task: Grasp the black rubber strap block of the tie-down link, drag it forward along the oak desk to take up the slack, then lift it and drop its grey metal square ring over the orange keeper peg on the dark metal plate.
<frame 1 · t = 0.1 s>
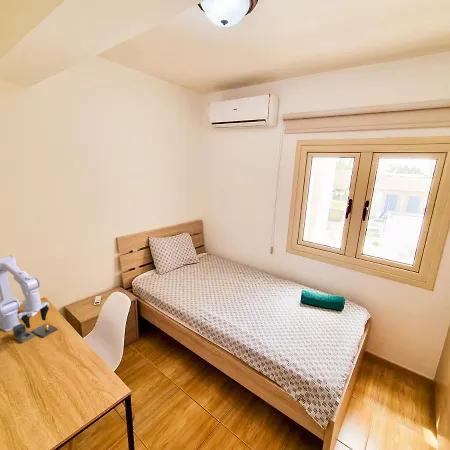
hand: (36, 323, 134), 10 cm above the table, fingers open, 7 cm apart
link: (20, 335, 139), on the table
keeper: (44, 331, 143), on the table
ink cartridge box: (33, 313, 161), on the table
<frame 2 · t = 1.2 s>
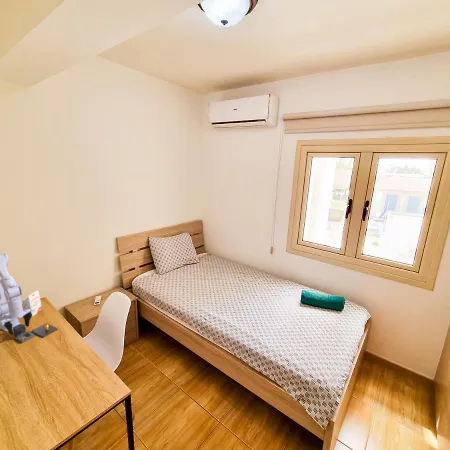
hand: (19, 329, 138), 4 cm above the table, fingers open, 7 cm apart
nothing on the table moved.
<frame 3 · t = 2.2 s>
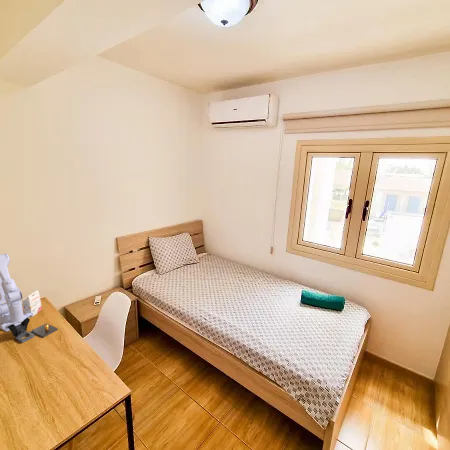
hand: (20, 333, 139), 1 cm above the table, fingers closed on link, 4 cm apart
link: (20, 335, 139), on the table, touching gripper
everything else where it was.
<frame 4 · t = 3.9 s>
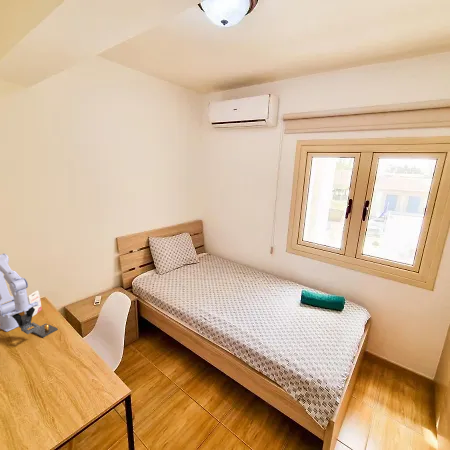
hand: (25, 323, 137), 8 cm above the table, fingers closed on link, 4 cm apart
link: (25, 326, 137), point 6 cm above the table, touching gripper
everything else where it was.
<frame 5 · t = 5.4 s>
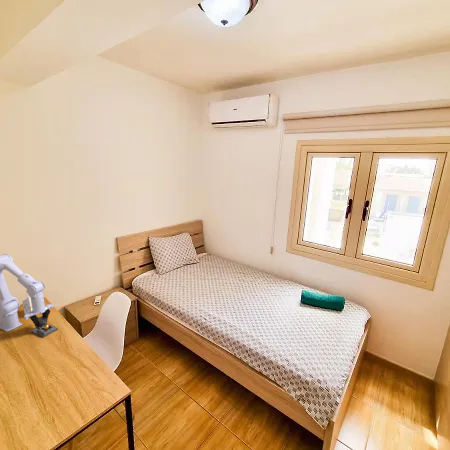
hand: (41, 324, 144), 4 cm above the table, fingers closed on link, 4 cm apart
link: (41, 327, 144), point 1 cm above the table, touching gripper, keeper
everything else where it was.
when the fingers open (3 cm above the table, at t = 6.0 s): link stays where it is, resting on keeper.
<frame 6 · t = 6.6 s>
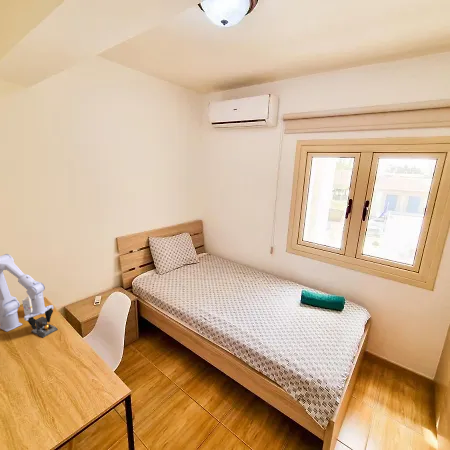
hand: (41, 325, 144), 3 cm above the table, fingers open, 7 cm apart
link: (42, 328, 144), point 1 cm above the table, touching keeper
everything else where it was.
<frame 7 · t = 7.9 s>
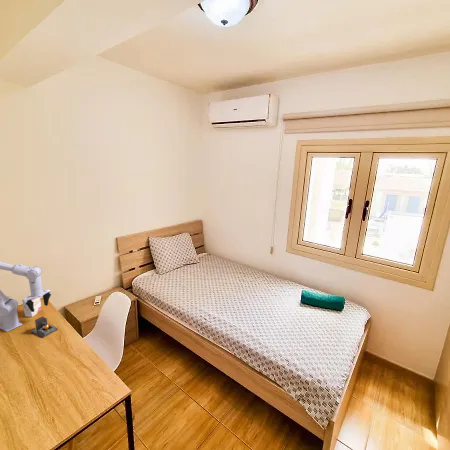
hand: (39, 308, 149), 10 cm above the table, fingers open, 7 cm apart
nothing on the table moved.
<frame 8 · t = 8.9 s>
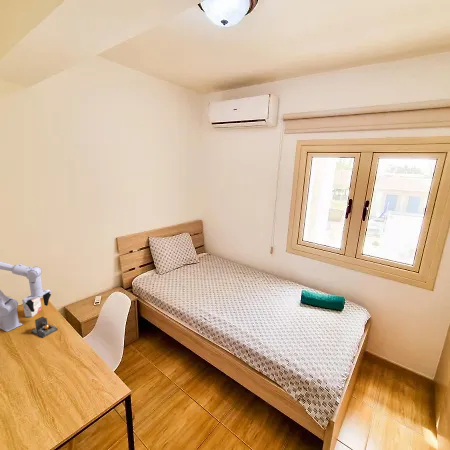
hand: (39, 308, 149), 10 cm above the table, fingers open, 7 cm apart
nothing on the table moved.
at the end: link 0.2 cm from the target spot on the keeper, point 1.0 cm above the keeper's base; link point 1.0 cm above the table; the gripper is holding nothing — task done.
